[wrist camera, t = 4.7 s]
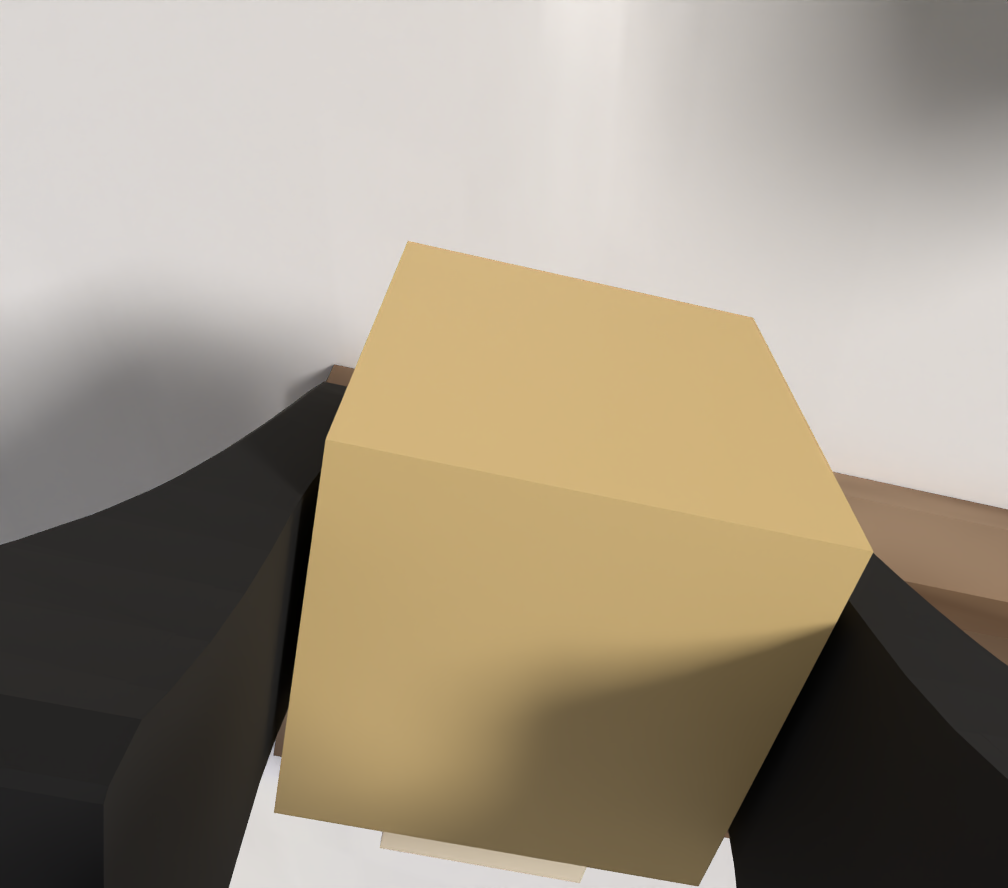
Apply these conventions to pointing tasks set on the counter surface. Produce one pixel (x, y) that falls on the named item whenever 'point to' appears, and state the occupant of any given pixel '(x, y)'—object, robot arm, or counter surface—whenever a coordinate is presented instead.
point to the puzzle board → (896, 541)
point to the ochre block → (559, 572)
